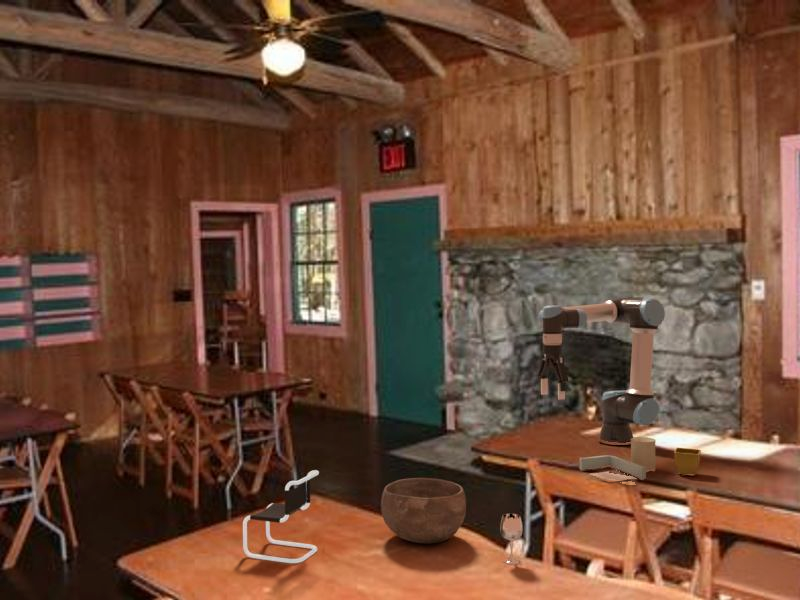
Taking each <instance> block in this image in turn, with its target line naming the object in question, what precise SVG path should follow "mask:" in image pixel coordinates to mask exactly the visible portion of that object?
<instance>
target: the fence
mask: <svg viewBox="0 0 800 600" xmlns="http://www.w3.org/2000/svg"><path fill="white" fill-rule="evenodd" d="M578 460H579V463H578V464H579V465H578V466H579V468H578V469H580V470H579V471H581V472H583V471H586V470H585V469H588V468H595V467H601V466H607V465H611V466H613V467H616V468H618V469H621V470H623V471H626V472H628V473H631V474H632V475H635V476H636V477H638V478H639V479H638V478H637V479H638V480H641V481H644V479H647V478H646V477H647V475H646V474H647V472H646V467H643V466H641V465H638V464H635V463H632V462H631V461H628V460H626V459H624V458H620V457H618V456H615V455H610V454H607V455H597V456H596V455H595V456H589V457H587V456H586V457H579V459H578Z"/></svg>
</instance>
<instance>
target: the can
mask: <svg viewBox="0 0 800 600" xmlns="http://www.w3.org/2000/svg"><path fill="white" fill-rule="evenodd" d="M633 437H634V436H633ZM630 462H632V463H635V464H638V465H641V466H643V467H646V470H653V469H656V439H655V438H651V437H648V436H647V437H645V436H638V437H634V438H631V445H630Z"/></svg>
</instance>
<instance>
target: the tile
mask: <svg viewBox="0 0 800 600" xmlns="http://www.w3.org/2000/svg"><path fill="white" fill-rule="evenodd" d="M588 475H589V476H590V475H593V476H597V477H601V478H609V479H615V480H627V479H636V480H637V478H635V477H633V476H630V475H629V476H626V475H620V474H614V473H609V471H603V472H601V471H600V472H592V473H589V474H588Z"/></svg>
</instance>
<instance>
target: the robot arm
mask: <svg viewBox="0 0 800 600" xmlns="http://www.w3.org/2000/svg"><path fill="white" fill-rule="evenodd" d="M665 313H666V312H665V308H664V305H663V304H662V303H661V301H659V300H658V299H656V298H654V297H636V296H635V297H633V296H631V297H630V296H628V297H627V296H626V297H622V298H617V299H611V300H606V301H604V302H603V303H597V304H596V303H595V304H585V305H576V306H565V307H562V306H561V305H545V306H543V308H542V309H541V310H540V312H539V313H538V321H539V323H540V325H542V337H541V338H542V354H541V355H540V356H541V357H540V358H541V360H540V363H539V367H538V371H537V377H539V378H540V394H541V396H542V395H543V396H544V395H545V396H547V395H549V388H548V387H549V385H548V384H549V382H548V381H549V379H548V378H549V377H548V375H549V373H550V371H551V369H552V370H553V371H554V373H555V375H556V379H557V380H558V381H557V400H558V401H561V400H565V399H566V383H568V382H569V378H568V373H567V369H566V365H565V358H564V357H560V355H561V354H563V345H562V343H563V329H580V328H584V327H585V326H586V324H587V323H595V322H605V321H606V322H607V323H623V324H629V329H630V331H631V332H632V341H631V342H632V344H631V357H630V359H631V360H630V375H629V376H630V377H629V388H627V390H610V391H604V392H603V394H602V400H601V403H602V404H601V405H602V406H601V407H602V408H601V410H602V425H601V429H600V432H599V435H598V440H599V439H601V440H604V441H608V442H618V443H626V442H631V438H634V434H633V431H632V428H631V425H630V423H631V424H636V425H637V426H649V425H651V424H653V422H655V421H656V420H657V417H658V416H659V414H660V406H659V404H658V401H657V400H655V399H654V398H655V394H654V392H653V391H652V389H651V386H652V371H653V370H652V369H653V357H654V356H653V352H654V339H655V337H654V336H655V335H654V334H655V333H657V331H658V330H659V326H660V325H661V324H662V323H663V322H664V321H665V316H666V314H665Z"/></svg>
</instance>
